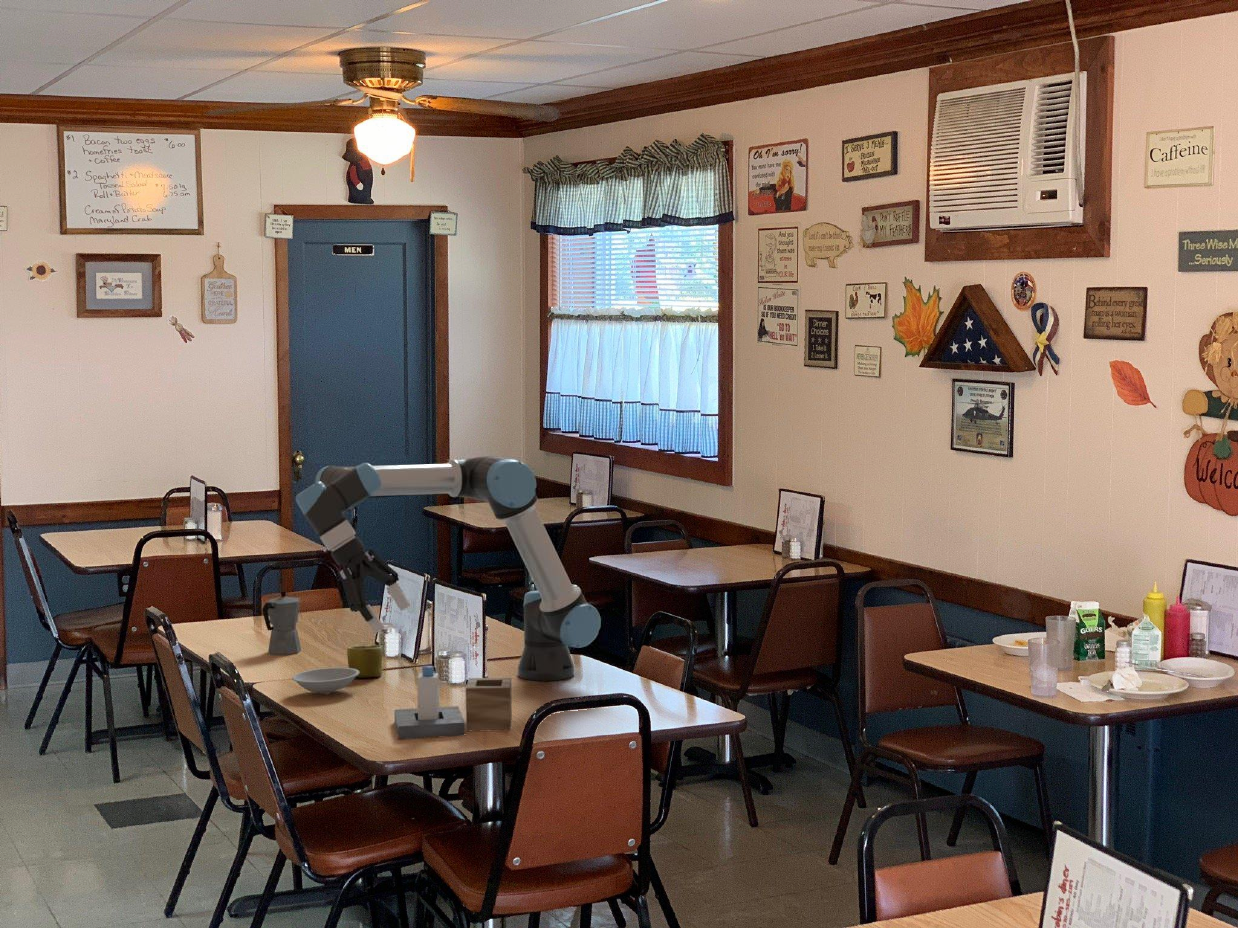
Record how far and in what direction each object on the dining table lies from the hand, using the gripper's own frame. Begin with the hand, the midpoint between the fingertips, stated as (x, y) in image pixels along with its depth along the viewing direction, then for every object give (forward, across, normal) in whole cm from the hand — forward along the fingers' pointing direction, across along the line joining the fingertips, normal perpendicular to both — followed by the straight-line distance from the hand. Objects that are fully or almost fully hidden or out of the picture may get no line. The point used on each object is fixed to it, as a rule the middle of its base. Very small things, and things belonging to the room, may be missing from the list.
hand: (393, 619), depth 333 cm
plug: (+25, +9, -2) cm, 26 cm away
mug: (+14, -34, -41) cm, 55 cm away
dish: (+10, -13, -39) cm, 42 cm away
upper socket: (+33, +2, +7) cm, 33 cm away
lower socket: (+25, +9, -2) cm, 27 cm away
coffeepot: (-2, -51, -75) cm, 90 cm away
